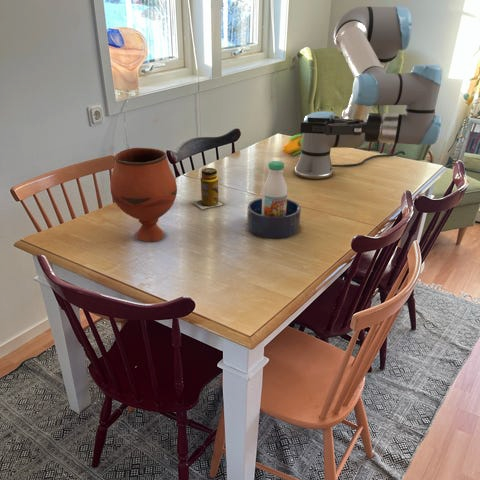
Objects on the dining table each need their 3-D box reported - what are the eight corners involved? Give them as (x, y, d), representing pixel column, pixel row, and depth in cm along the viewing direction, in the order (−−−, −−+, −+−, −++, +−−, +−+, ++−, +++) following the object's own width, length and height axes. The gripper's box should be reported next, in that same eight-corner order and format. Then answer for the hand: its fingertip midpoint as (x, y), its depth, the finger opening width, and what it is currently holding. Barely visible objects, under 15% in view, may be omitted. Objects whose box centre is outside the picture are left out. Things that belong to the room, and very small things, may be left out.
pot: (283, 214, 163) (284, 194, 159) (308, 233, 150) (310, 212, 146) (239, 222, 157) (239, 201, 153) (261, 242, 145) (262, 221, 141)
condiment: (223, 204, 169) (222, 171, 162) (202, 209, 165) (201, 175, 158) (212, 198, 174) (211, 165, 167) (192, 203, 170) (190, 169, 163)
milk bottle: (256, 225, 153) (258, 162, 141) (271, 218, 158) (274, 157, 146) (274, 232, 149) (278, 168, 137) (290, 225, 153) (294, 162, 142)
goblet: (126, 222, 156) (114, 144, 142) (184, 223, 156) (179, 145, 141) (111, 249, 141) (97, 164, 126) (176, 250, 140) (169, 165, 126)
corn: (311, 132, 221) (292, 142, 207) (311, 149, 225) (291, 159, 211) (297, 131, 225) (277, 140, 211) (297, 147, 229) (277, 158, 215)
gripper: (377, 149, 124) (296, 144, 128) (378, 136, 145) (309, 133, 150) (382, 117, 120) (298, 114, 125) (382, 109, 141) (311, 107, 146)
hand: (304, 124), depth 137 cm, fingers open, 13 cm apart
